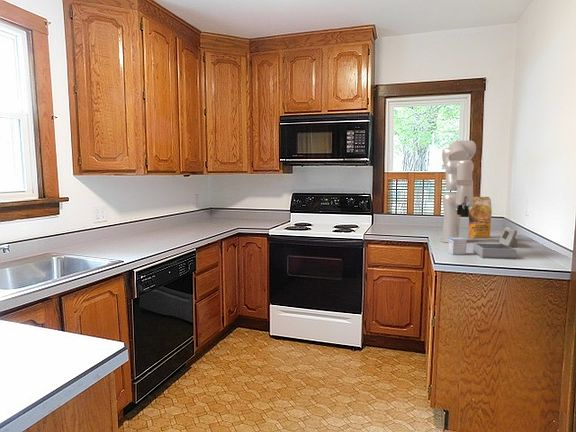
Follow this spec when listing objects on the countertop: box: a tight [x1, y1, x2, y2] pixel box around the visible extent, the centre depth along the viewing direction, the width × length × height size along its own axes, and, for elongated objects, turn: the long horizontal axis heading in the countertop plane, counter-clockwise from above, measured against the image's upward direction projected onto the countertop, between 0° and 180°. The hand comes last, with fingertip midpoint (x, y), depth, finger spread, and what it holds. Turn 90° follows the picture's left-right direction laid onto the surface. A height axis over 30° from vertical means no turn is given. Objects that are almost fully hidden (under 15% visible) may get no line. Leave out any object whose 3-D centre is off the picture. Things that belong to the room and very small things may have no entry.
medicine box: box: [447, 237, 468, 256], centre depth 210 cm, size 8×4×9 cm, turn 98°
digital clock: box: [498, 226, 518, 248], centre depth 235 cm, size 16×9×11 cm, turn 155°
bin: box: [472, 242, 517, 260], centre depth 206 cm, size 16×16×5 cm
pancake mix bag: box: [467, 196, 493, 239], centre depth 264 cm, size 7×19×28 cm, turn 97°
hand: (462, 215), depth 208 cm, fingers open, 9 cm apart
